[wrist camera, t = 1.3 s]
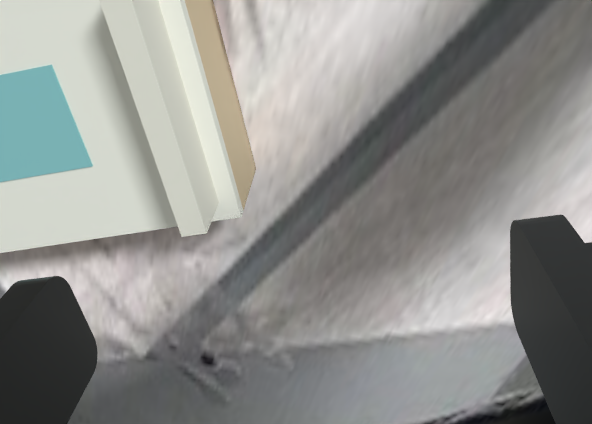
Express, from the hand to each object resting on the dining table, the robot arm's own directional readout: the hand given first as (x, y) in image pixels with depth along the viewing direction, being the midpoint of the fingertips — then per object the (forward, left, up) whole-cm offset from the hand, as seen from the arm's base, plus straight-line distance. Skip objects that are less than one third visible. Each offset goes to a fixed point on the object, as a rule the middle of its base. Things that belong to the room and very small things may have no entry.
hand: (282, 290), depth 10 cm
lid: (+14, 0, -17) cm, 22 cm away
